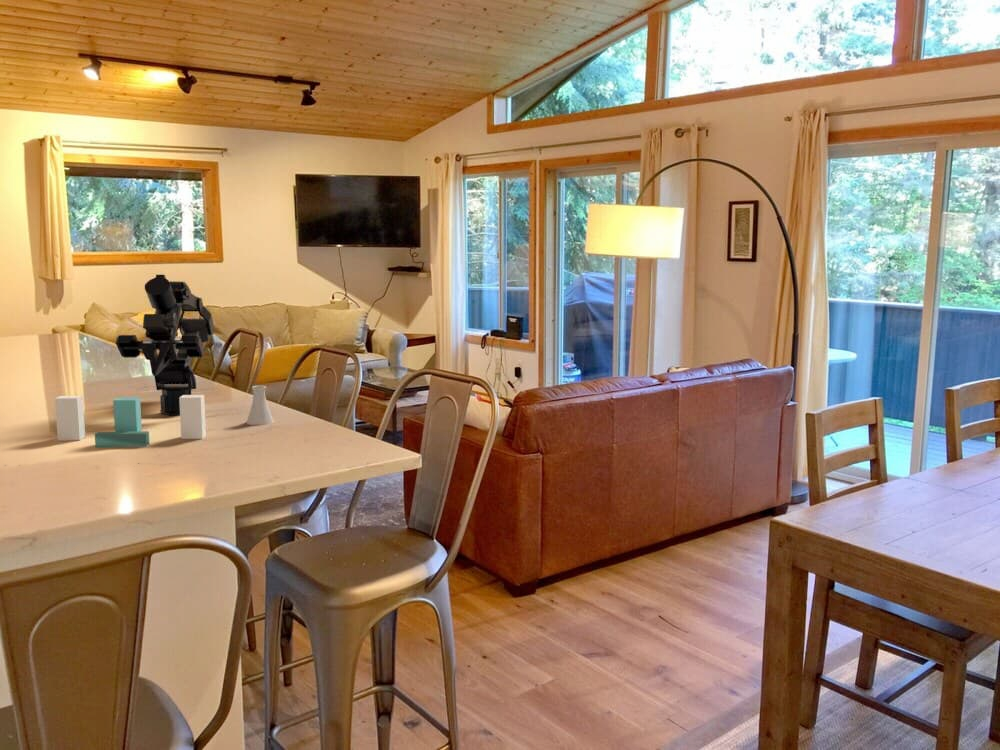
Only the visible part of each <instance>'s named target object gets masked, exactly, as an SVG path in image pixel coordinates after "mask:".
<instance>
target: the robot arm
mask: <svg viewBox="0 0 1000 750" xmlns="http://www.w3.org/2000/svg"><path fill="white" fill-rule="evenodd" d="M144 290H145V293H146V295H147V298H148V300H149V303H150V306H151V308H152V309H155V311H154V313H145V314H143V322H142V329H144V330H145V333H144V334H145V336H146V338H142V340H138V338H137V335H136V334H119V335H118V336H116V339H115V345H116V347H117V350H118V351H119V354H120V355H121V357H123V358H129V359H130V358H131V359H132V358H135V359H136V358H137V357H140V355H141V351H142V353H143V355H144V358H145V359H146V360H147V361H149V364H150V370H151V375H152V377H153V376H154V377H153V378H154V382H155V388H156V391H161V395H160V397H159V398H160V401H159V402H160V410H159V412H160V413H162V414H165V415H168V416H180V403H179V397H181V396H182V395H192V390H196V389H197V380H196V375H195V372H194V371H193V367H192V366H191V362H192V360H193V358H202V357H203V356H204V350H205V349H204V348H205V347H204V345H203V344H204V343H206V342H209V340H210V339H211V338H212V336H213V335H214V333H215V327H214V321H213V316H212V313H211V312H210V311H209V310H208V308H206V307H205V306H204V303H203V299H202V298H201V297H199V296H197V295H195V294H193V293H192V291H191V288H190V287H189V286H188V284H187V283H186V282H185V281H171V280H170V281H169V280H168V279H167V278H166V274H156V275H155V277H154V278H151V279H149V280H147V282H146V283H144ZM185 312H198V314H199V316H201V318H184V314H185ZM178 327H179V331H180V332H179V333H180V335H181V337H180V340H176V338H177V337H178V335H179V333H178ZM158 351H159V352H158Z"/></svg>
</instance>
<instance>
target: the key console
mask: <svg viewBox="0 0 1000 750" xmlns="http://www.w3.org/2000/svg"><path fill="white" fill-rule="evenodd" d="M94 442H95V443H94V446H95V448H131V447H133V448H134V447H141V448H142V447H145V448H146V447H148V446H150V431H147V430H146V431H143V430H142V431H126V432H115V431H97V432H96V433H94Z"/></svg>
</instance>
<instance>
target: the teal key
mask: <svg viewBox="0 0 1000 750" xmlns="http://www.w3.org/2000/svg"><path fill="white" fill-rule="evenodd" d="M112 400H113V401H112V403H113V404H112V405H113V418H114V419H113V421H114V432H126V431H143V429H142V428H143V425H142V411H141V397H117V398H114V399H112Z"/></svg>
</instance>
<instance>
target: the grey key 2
mask: <svg viewBox="0 0 1000 750" xmlns="http://www.w3.org/2000/svg"><path fill="white" fill-rule="evenodd" d="M179 403H180V414H179V419H180V420H179V421H180V439H181V440H203V439H204V438H205V437H207V428H206V427H207V426H206V406H205V403H206V401H205V394H191V395H182V396H181V397H179Z"/></svg>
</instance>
